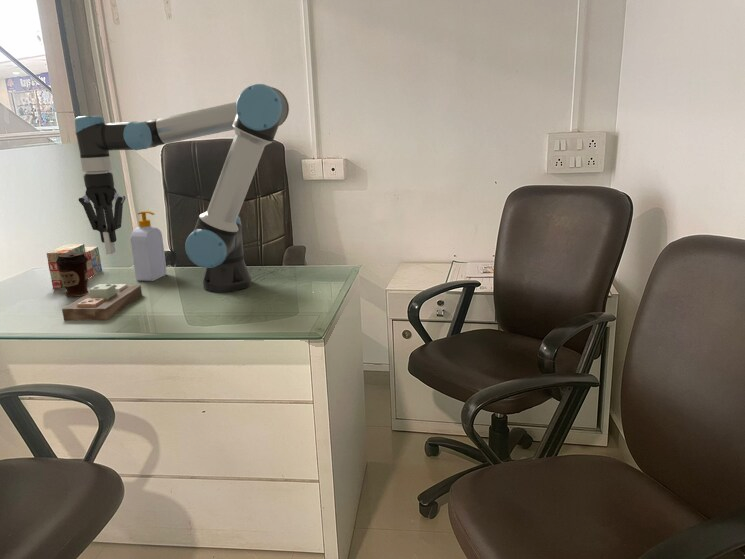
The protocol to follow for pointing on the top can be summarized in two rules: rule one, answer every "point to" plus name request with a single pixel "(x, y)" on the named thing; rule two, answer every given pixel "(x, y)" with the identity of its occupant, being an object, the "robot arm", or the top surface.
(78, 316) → the brown flat block
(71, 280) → the coffee cup
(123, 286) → the tile one
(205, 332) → the top surface
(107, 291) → the tile two
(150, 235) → the soap bottle
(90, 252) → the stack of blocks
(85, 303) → the tile three
